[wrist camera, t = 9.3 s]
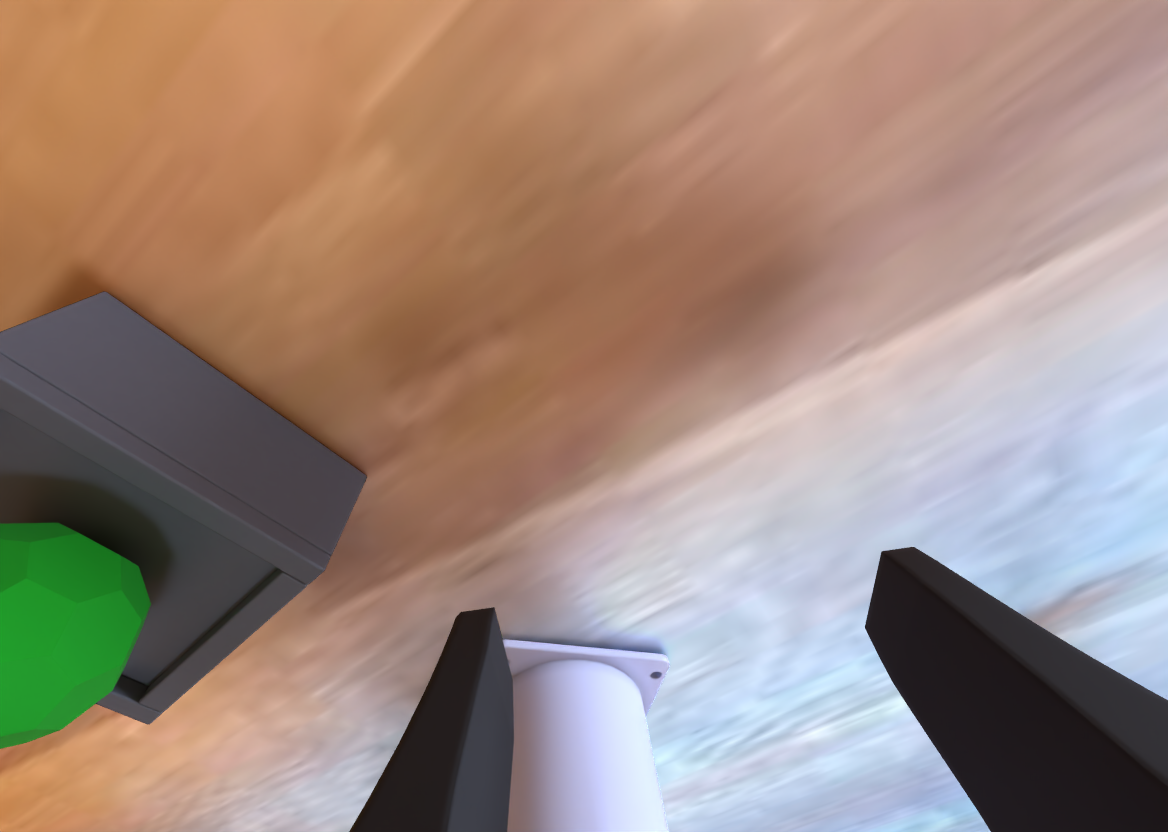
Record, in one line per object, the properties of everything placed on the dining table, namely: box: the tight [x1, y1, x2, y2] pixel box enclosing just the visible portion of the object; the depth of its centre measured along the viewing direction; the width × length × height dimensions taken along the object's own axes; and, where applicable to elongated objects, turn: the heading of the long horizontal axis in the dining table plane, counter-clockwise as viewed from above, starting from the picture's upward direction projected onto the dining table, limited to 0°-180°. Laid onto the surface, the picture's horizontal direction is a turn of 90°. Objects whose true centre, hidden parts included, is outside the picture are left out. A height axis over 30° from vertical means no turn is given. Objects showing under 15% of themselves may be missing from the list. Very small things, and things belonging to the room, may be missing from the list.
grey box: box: [0, 292, 367, 724], centre depth 16 cm, size 9×9×5 cm
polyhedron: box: [0, 523, 151, 749], centre depth 13 cm, size 5×5×5 cm
